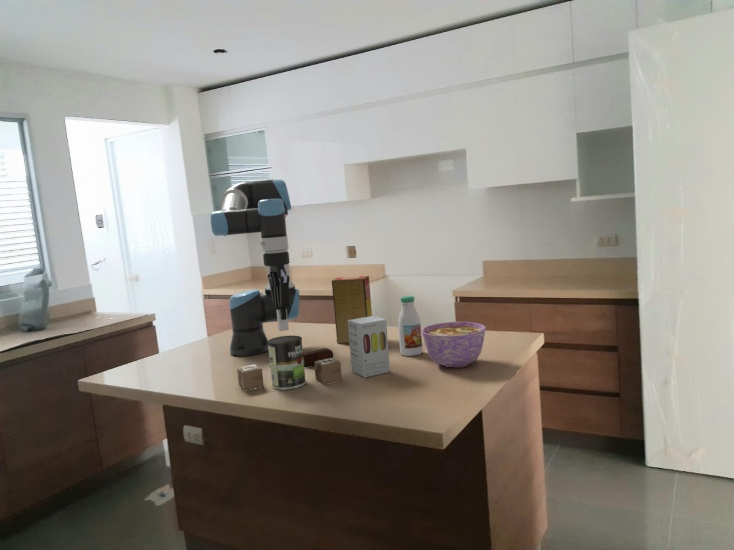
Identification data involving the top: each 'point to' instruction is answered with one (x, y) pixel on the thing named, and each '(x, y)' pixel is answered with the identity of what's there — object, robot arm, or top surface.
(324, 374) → the number block right
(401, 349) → the milk bottle
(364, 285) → the food packaging
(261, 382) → the number block left
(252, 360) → the top surface
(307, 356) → the brick
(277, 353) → the coffee can
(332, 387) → the top surface
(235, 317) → the robot arm
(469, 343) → the bowl of food
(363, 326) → the supplement box
